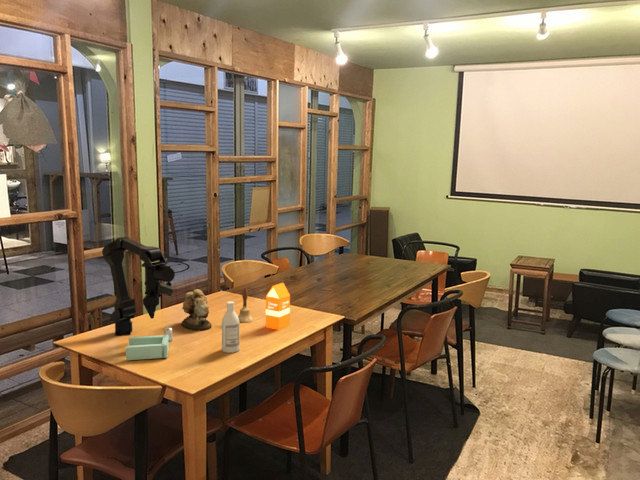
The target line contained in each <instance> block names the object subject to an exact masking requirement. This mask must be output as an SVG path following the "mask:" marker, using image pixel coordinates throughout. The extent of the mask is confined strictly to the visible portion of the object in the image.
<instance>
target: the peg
mask: <svg viewBox="0 0 640 480" xmlns="http://www.w3.org/2000/svg"><path fill="white" fill-rule="evenodd" d="M164 335H169V343H171V342H173V326H172V327H171V326H169V327H168V326H167V327H164Z"/></svg>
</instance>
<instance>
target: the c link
mask: <svg viewBox="0 0 640 480" xmlns="http://www.w3.org/2000/svg"><path fill="white" fill-rule="evenodd" d="M169 345H170V342H169V335H165V334H162V335H161V334H160V335H144V336H129V338H128V345H126V347H125V360H126V361H135V360H150V359H166V358H167V359H168V356H169V348H170V346H169Z"/></svg>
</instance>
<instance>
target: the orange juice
mask: <svg viewBox="0 0 640 480" xmlns="http://www.w3.org/2000/svg"><path fill="white" fill-rule="evenodd" d="M290 321H291V294H290V293H289V291H288V288H287V287H286V285H285V283H284V282H281V283H277V284H274V285H272V286H271V288H270V290H269V291H268V292H267V294H266V296H265V328H267V329H269V328H270V329H273V330H277V331H279V330H282V329H284V328H287V327H289V326H290V324H291V322H290Z"/></svg>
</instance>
